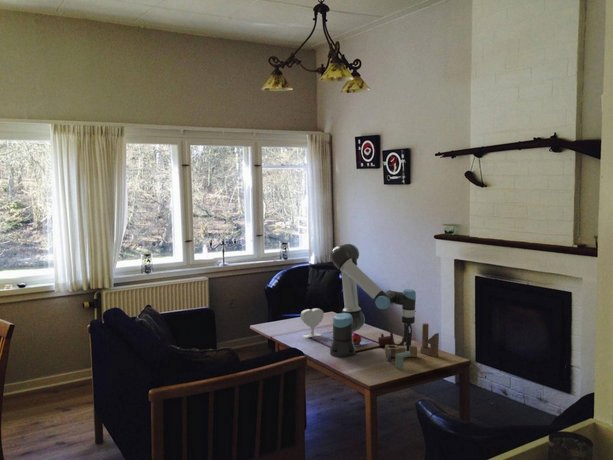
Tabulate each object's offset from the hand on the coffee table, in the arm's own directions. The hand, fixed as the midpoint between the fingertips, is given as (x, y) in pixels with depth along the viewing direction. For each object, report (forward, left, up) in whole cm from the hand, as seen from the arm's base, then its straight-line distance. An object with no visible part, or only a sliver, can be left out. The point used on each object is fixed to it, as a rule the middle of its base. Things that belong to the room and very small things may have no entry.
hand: (406, 354), depth 319 cm
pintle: (-11, -7, -1) cm, 14 cm away
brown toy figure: (-5, +19, -2) cm, 20 cm away
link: (-3, 0, 0) cm, 3 cm away
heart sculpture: (-55, +44, -2) cm, 71 cm away
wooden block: (+15, +5, -2) cm, 15 cm away
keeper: (-5, -17, -1) cm, 18 cm away
